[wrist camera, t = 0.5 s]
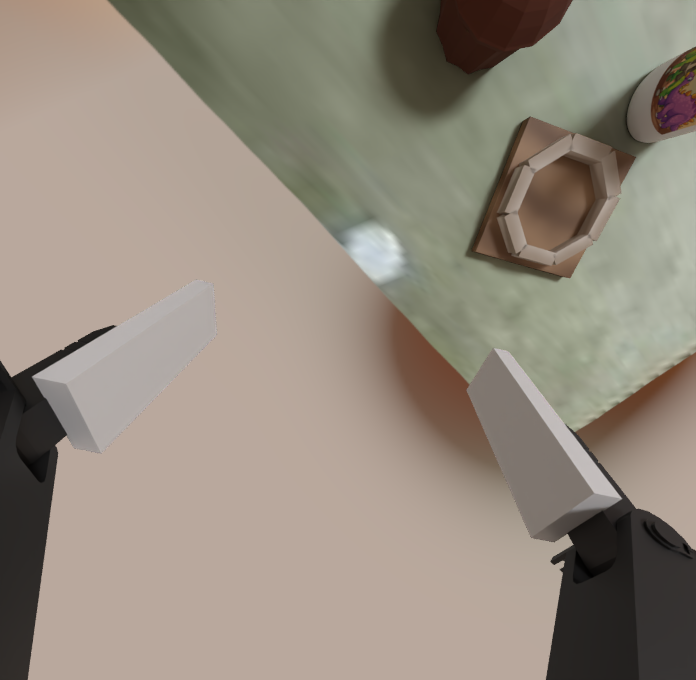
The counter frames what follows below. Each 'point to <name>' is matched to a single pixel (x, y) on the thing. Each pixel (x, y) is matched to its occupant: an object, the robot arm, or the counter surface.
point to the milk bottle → (665, 101)
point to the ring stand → (552, 198)
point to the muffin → (494, 28)
